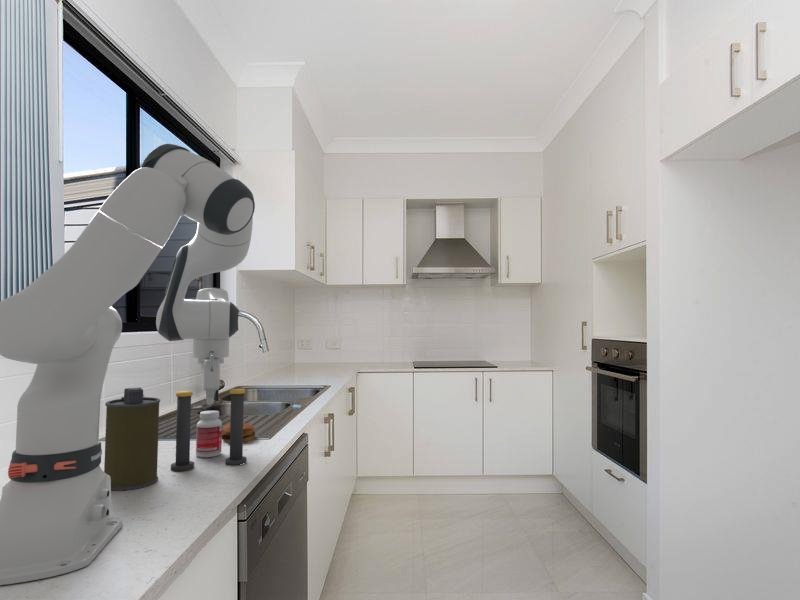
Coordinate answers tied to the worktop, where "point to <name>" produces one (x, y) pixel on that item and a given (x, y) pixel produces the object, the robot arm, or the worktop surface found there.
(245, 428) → the burger
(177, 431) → the post left
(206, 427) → the pill bottle
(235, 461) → the post right
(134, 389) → the canister
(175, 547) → the worktop surface
